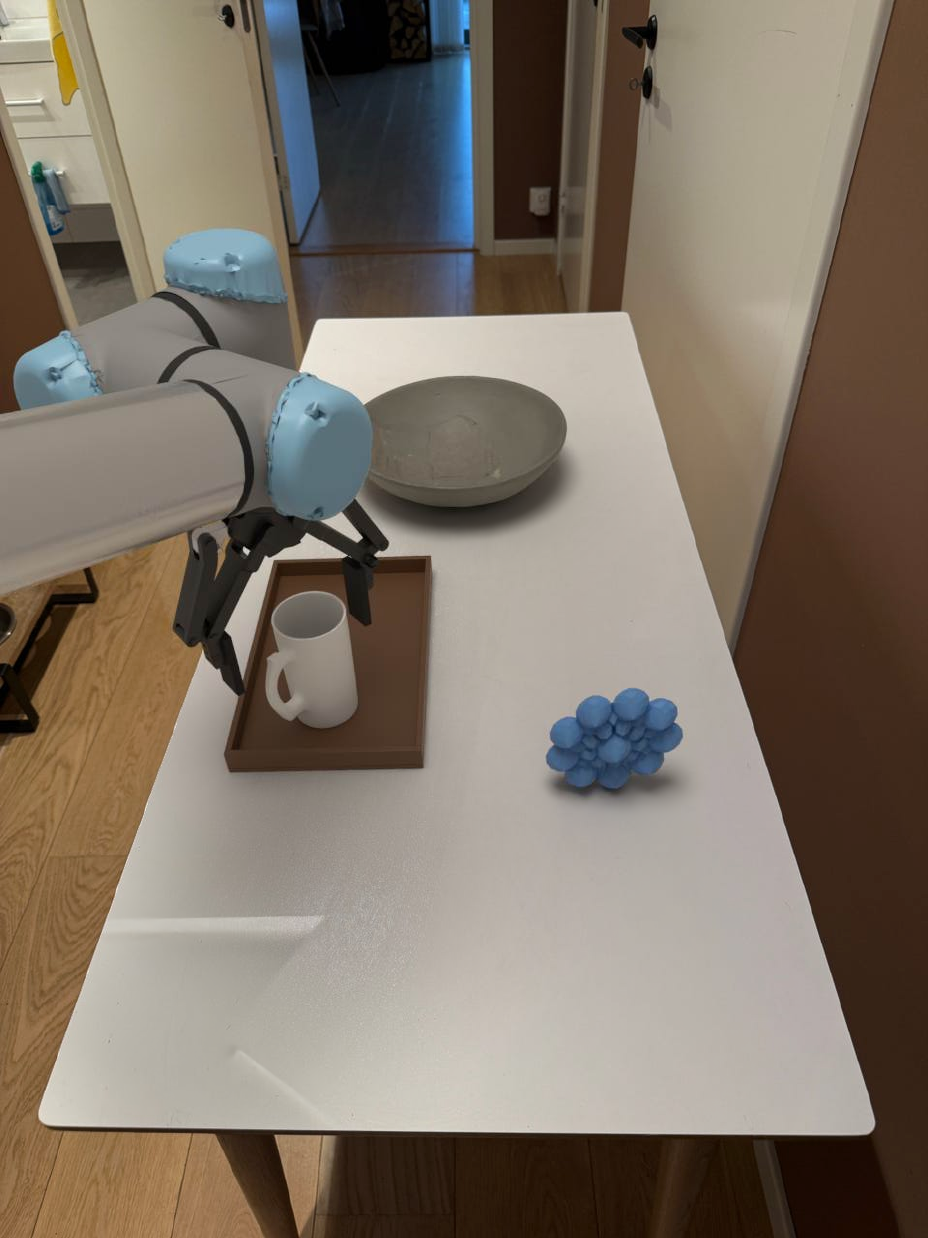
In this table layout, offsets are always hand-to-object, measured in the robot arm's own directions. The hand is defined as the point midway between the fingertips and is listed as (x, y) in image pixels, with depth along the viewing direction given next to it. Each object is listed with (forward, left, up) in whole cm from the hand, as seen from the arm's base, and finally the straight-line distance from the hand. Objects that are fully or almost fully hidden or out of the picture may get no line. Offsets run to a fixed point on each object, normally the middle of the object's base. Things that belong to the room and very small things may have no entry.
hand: (299, 651), depth 84 cm
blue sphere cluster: (+16, -24, -10) cm, 30 cm away
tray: (+7, +5, -10) cm, 13 cm away
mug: (0, 0, -9) cm, 9 cm away
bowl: (+38, +23, -10) cm, 46 cm away
